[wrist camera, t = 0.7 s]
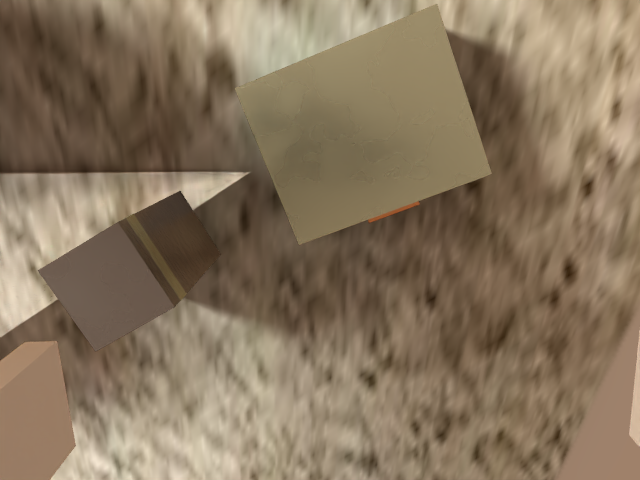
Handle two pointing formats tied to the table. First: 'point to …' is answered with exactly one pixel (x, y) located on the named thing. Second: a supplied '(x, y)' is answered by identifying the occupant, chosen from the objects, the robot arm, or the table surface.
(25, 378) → the robot arm
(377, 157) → the grey-green storage box
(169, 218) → the column
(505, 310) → the table surface
